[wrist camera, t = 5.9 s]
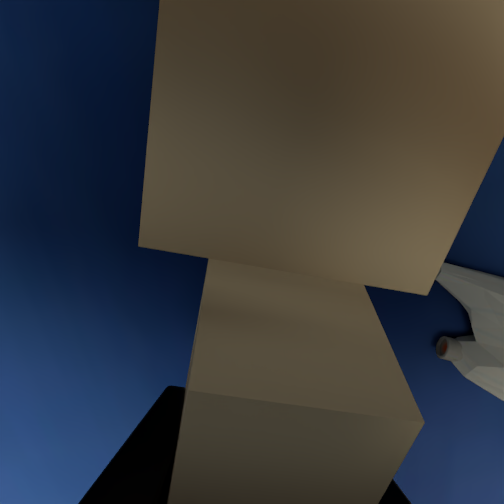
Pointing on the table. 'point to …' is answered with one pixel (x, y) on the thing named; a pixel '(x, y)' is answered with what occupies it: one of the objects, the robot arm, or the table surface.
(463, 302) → the spaceship
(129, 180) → the table surface
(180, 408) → the robot arm
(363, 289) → the tan stacked blocks
